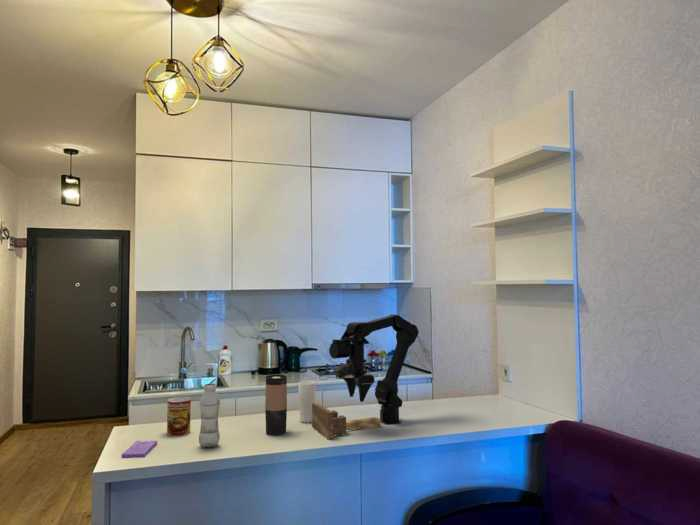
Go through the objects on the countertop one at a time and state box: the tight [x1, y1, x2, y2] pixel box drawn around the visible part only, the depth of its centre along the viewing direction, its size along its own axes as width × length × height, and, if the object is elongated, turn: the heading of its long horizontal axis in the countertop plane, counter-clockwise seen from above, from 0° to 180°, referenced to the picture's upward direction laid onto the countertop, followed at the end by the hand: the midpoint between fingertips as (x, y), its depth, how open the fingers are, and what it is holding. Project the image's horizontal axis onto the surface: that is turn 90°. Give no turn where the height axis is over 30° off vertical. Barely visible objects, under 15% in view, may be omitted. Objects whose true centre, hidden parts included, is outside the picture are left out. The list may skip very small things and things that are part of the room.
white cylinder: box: [297, 380, 317, 424], centre depth 193 cm, size 7×7×15 cm
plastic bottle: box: [198, 383, 221, 448], centre depth 163 cm, size 6×7×20 cm
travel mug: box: [264, 374, 288, 437], centre depth 178 cm, size 8×8×20 cm
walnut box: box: [311, 402, 347, 440], centre depth 178 cm, size 8×16×9 cm, turn 23°
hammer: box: [333, 416, 382, 431], centre depth 182 cm, size 19×6×5 cm, turn 113°
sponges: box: [121, 440, 158, 459], centre depth 158 cm, size 7×13×2 cm, turn 4°
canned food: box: [166, 396, 192, 437], centre depth 178 cm, size 8×8×12 cm
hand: (356, 399), depth 183 cm, fingers open, 9 cm apart
